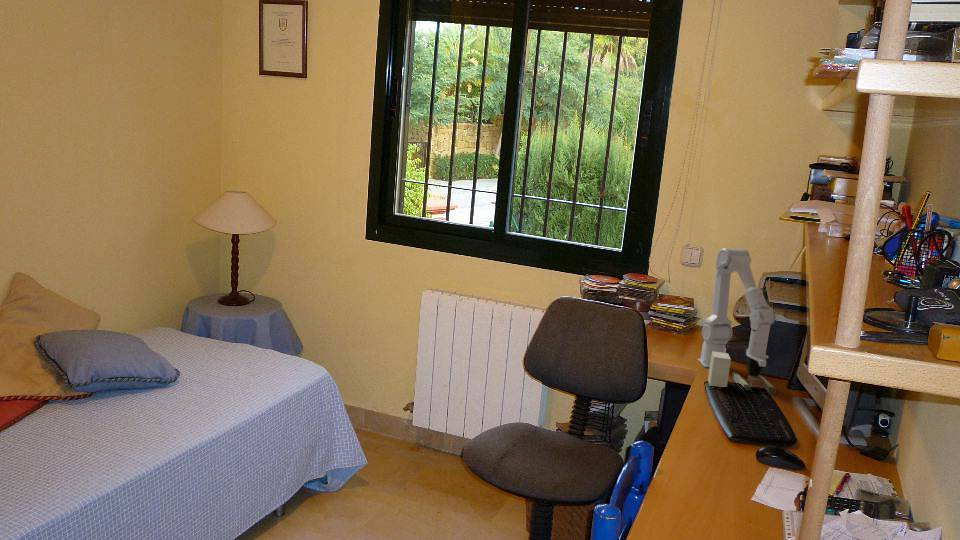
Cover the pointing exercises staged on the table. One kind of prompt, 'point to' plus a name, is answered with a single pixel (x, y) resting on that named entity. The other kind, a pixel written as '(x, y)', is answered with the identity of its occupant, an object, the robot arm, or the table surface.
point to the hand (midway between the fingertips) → (752, 380)
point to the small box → (719, 369)
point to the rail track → (743, 382)
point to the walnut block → (755, 381)
